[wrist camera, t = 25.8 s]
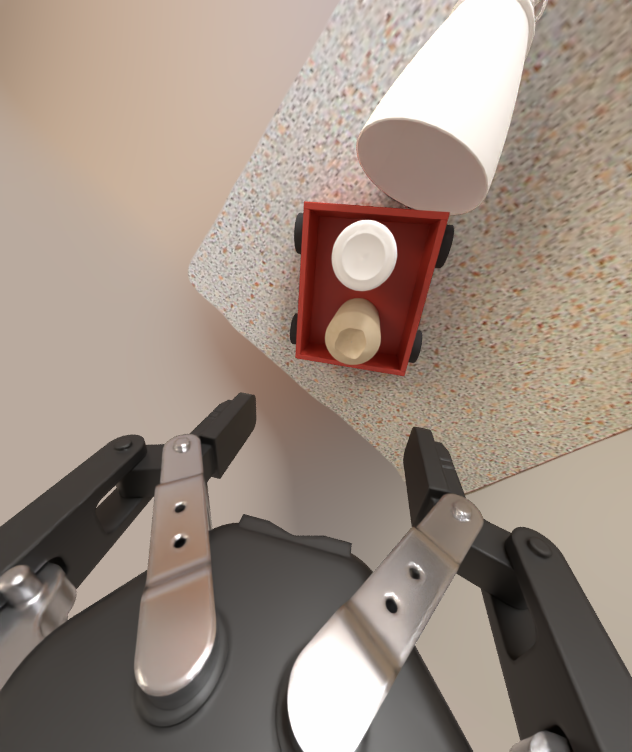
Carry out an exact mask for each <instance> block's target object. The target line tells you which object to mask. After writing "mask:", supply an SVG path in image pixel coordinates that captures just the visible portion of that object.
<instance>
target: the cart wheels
mask: <svg viewBox="0 0 632 752" xmlns="http://www.w3.org/2000/svg"><path fill="white" fill-rule="evenodd" d="M302 230H303V213H299V214H298V216H297V218H296V222H295V230H294V242H295V249H296V252H297V253H298V254H301V248H302ZM453 236H454V226H453V225H446V228H445V232H444V236H443V239H442V243H441V246H440V250H439V254H438V257H437V261H436V264H435V268H441V267H442V266H443V265H444V263H445V261H446V259H447V257H448V254H449V251H450V248H451V245H452V241H453ZM297 320H298V314H297V313H296V314H295V315H294V316H293V319H292V322H291V328H290V340H291V343H292V344H296V338H297ZM421 345H422V332H421V331H419V330H417V332H416V336H415V340H414V343H413V347H412V350H411V354H410V357H409V361H408V362H411V363H415V362H416V360H417V358H418V356H419V353H420V349H421Z"/></svg>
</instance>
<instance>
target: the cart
mask: <svg viewBox="0 0 632 752" xmlns="http://www.w3.org/2000/svg"><path fill="white" fill-rule="evenodd" d="M449 214H450V212H441V211H427V210H414V209H400V208H386V207H373V206H359V205H345V204H332V203H318V202H304V212H303V230H302V248H301V266H300V284H299V302H298V320H297V338H296V355H295V358H298V359H304V360H310V361H316V362H322V363H328V364H334V365H340V366H346V367H352V368H358V369H364V370H370V371H376V372H382V373H388V374H394V375H400V376H404V375H405V371H406V368H407V365H408V361H409V357H410V354H411V350H412V347H413V343H414V340H415V336H416V332H417V329H418V325H419V322H420V318H421V314H422V311H423V307H424V304H425V300H426V297H427V293H428V289H429V286H430V282H431V279H432V275H433V271H434V268H435V264H436V261H437V257H438V254H439V250H440V246H441V243H442V239H443V236H444V232H445V228H446V225H447V221H448V218H449ZM361 220H373V221H376V222H379V223H381V224H383V225H384V226H385V227H387V228H388V229H389V231H390V232H391V233H392V235H393V237H394V239H395V242H396V246H397V260H396V264H395V267H394V269H393V271H392V273H391V275H390V276H389V277H388V279H387V280H386V281H385V282H384V283H382V284H381V285H380V286H378V287H376V288H374V289H372V290H368V291H356V290H352V289H350V288H348V287H346V286H345V285H343V284H342V283H341V282H340V281H339V279H338V278H337V276H336V275H335V272H334V270H333V266H332V251H333V247H334V244H335V242H336V240H337V238H338V236H339V235H340V234H341V232H342V231H343V230H344V229H345V228H347V227H348V226H349V225H351V224H353V223H355V222H357V221H361ZM354 298H363V299H366V300H368V301H370V302H371V303H372V304H373V305H374V306H375V307H376V309H377V311H378V313H379V320H380V333H381V342H380V346H379V349H378V351H377V352H376V354H375V355H374V356H373V357H372V358H371V359H370V360H368V361H366V362H364V363H362V364H357V365H349V364H344V363H342V362H339V361H338V360H336V359H335V358H334V357H333V356H332V355H331V354H330V353H329V351H328V349H327V347H326V343H325V333H326V330H327V327H328V325H329V324H330V322H331V320H332V319H333V317H334V316H335V314H336V313H337V311H338V309H339V308H340V307H341V306H342V304H344V303H345V302H346V301H348V300H350V299H354Z"/></svg>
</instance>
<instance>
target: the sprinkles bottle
mask: <svg viewBox="0 0 632 752" xmlns="http://www.w3.org/2000/svg"><path fill="white" fill-rule="evenodd" d="M396 260H397V246H396V242H395V239H394V237H393V235H392V233H391V232H390V231H389V229H388V228H387V227H385V226H384V225H383V224H381V223H379V222H376V221H373V220H361V221H357V222H355V223H353V224H351V225H349V226H348V227H347V228H345V229H344V230H343V231H342V232H341V234H340V235H339V236H338V238H337V240H336V242H335V244H334V247H333V251H332V266H333V270H334V272H335V275H336V276H337V278H338V279H339V281H340V282H341V283H342V284H343V285H345V286H346V287H348V288H350V289H352V290H356V291H368V290H372V289H374V288H376V287H378V286H380V285H381V284H382V283H384V282H385V281H386V280H387V279H388V277H389V276H390V275H391V273H392V271H393V269H394V267H395V264H396Z"/></svg>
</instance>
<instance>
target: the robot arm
mask: <svg viewBox="0 0 632 752" xmlns="http://www.w3.org/2000/svg"><path fill="white" fill-rule="evenodd" d="M255 424H256V398H255V395H251V394H246V393H239V394H238V395H237V396H236V397H235V398H234V399H233V400H227V401H225V402H223V403H221V404H219V405H218V406H217V407H216V408H215V409H214V410H213V412H211V413H210V414H209V416H208V417H206V418H205V419H204V420H203V421H202V422H201V423H200V424H199V425H198V426H197V427H196V428H195V429H194V430H193V431H192V432H191V433H190V434H183V435H178V436H176V437H173V438H172V439H170V440H169V441H167V442H166V443H165V444H162V445H161V444H160V445H146V444H145V441H144V438H143V437H141V436H139V435H126V436H122V437H119V438H117V439H114V440H113V441H111V442H109V443H108V444H107V445H106V446H104V447H103V448H101V449H100V450H99V451H98V452H96V453H95V454H94V455H92V456H91V457H90V458H88V459H87V460H86V461H85V462H83V463H82V464H81V465H79V466H78V467H77V468H76V469H74V470H73V471H72V472H70V473H69V474H68V475H67V476H65V477H64V478H63V479H61V480H60V481H59V482H58V483H56V484H55V485H54V486H53V487H51V488H50V489H49V490H47V491H46V492H45V493H43V494H42V495H41V496H40V497H38V498H37V499H36V500H34V501H33V502H32V503H30V504H29V505H28V506H27V507H25V508H24V509H23V510H22V511H20V512H19V513H18V514H16V515H15V516H14V517H12V518H11V519H10V520H9V521H7V522H6V523H5V524H3V525H2V526H1V527H0V752H473V750H472V748H471V747H470V745H469V743H468V741H467V739H466V737H465V735H464V734H463V732H462V730H461V728H460V726H459V725H458V723H457V721H456V719H455V717H454V716H453V714H452V712H451V710H450V708H449V706H448V705H447V703H446V701H445V699H444V697H443V696H442V694H441V692H440V690H439V688H438V687H437V685H436V683H435V681H434V679H433V677H432V676H431V674H430V672H429V670H428V668H427V666H426V665H425V663H424V661H423V659H422V657H421V655H420V654H419V652H418V650H417V648H416V646H415V644H416V642H417V640H418V639H419V637H420V635H421V633H422V631H423V630H424V628H425V626H426V625H427V623H428V621H429V619H430V618H431V616H432V614H433V612H434V611H435V609H436V607H437V606H438V604H439V602H440V600H441V598H442V597H443V595H444V593H445V591H446V590H447V588H448V586H449V585H450V583H451V581H452V579H453V578H454V576H455V574H458V575H460V576H461V577H463V578H465V579H467V580H468V581H470V582H471V583H473V584H475V585H476V586H478V587H480V588H481V591H482V595H483V599H484V603H485V606H486V610H487V614H488V618H489V622H490V626H491V630H492V633H493V637H494V641H495V645H496V649H497V653H498V656H499V660H500V664H501V668H502V672H503V676H504V679H505V683H506V687H507V691H508V695H509V698H510V702H511V706H512V710H513V714H514V717H515V721H516V725H517V729H518V733H519V737H520V742H518V743H516V744H514V745H513V746H512V748H511V749H510V752H632V677H631V676H630V673H629V672H628V670H627V668H626V666H625V665H624V663H623V661H622V659H621V657H620V656H619V654H618V652H617V650H616V649H615V647H614V645H613V643H612V641H611V640H610V638H609V636H608V634H607V633H606V631H605V629H604V627H603V625H602V624H601V622H600V620H599V618H598V617H597V615H596V613H595V611H594V609H593V608H592V606H591V604H590V602H589V600H588V599H587V597H586V595H585V593H584V592H583V590H582V588H581V586H580V584H579V583H578V581H577V579H576V577H575V576H574V574H573V572H572V570H571V568H570V567H569V565H568V563H567V561H566V560H565V558H564V556H563V555H562V553H561V552H560V550H559V549H558V548H557V547H556V546H555V545H554V544H553V543H552V542H551V541H550V540H549V539H547V538H546V537H545V536H543V535H541V534H540V533H538V532H537V531H534V530H532V529H529V528H526V527H518V528H515V529H514V530H513V531H512V533H510V532H508V531H506V530H504V529H502V528H499V527H498V526H496V525H494V524H491V523H490V522H488V521H486V520H485V519H483V516H482V514H481V512H480V511H479V510H478V508H477V507H476V506H475V505H474V504H473V503H472V502H471V501H469V500H468V499H466V497H465V495H464V492H463V489H462V486H461V484H460V481H459V478H458V475H457V473H456V470H455V467H454V465H453V463H452V459H451V456H450V454H449V451H448V450H447V449H446V448H445V447H444V446H443V444H442V443H440V442H435V441H434V438H433V435H432V432H431V430H429V429H424V428H419V427H413V428H412V431H411V434H410V437H409V440H408V443H407V446H406V449H405V452H404V459H403V463H404V471H405V479H406V486H407V493H408V501H409V509H410V516H411V524H412V528H411V529H410V530H409V531H408V532H407V533H406V535H405V536H404V537H403V538H402V539H401V541H400V542H399V543H398V544H397V545H396V546H395V547H394V549H393V550H392V551H391V552H390V553H389V555H388V556H387V557H386V558H385V559H384V560H383V562H382V563H381V564H380V565H379V566H378V567H377V569H376V570H375V571H374V572H373V571H372V570H370V568H369V567H368V566H367V565H366V564H365V563H364V562H363V561H362V560H360V559H359V558H358V557H356V556H355V555H353V554H351V545H352V544H351V543H349V542H345V541H342V540H338V539H334V538H330V537H327V536H294V535H292V534H290V533H288V532H286V531H285V530H283V529H282V528H280V527H278V526H276V525H275V524H273V523H271V522H270V521H267V520H264V519H260V518H256V517H252V516H249V515H245V514H243V516H242V518H241V520H240V522H239V523H231V524H226V525H222V526H219V527H217V528H214V529H212V522H211V513H210V505H209V496H208V486H207V482H208V480H209V479H210V478H211V477H214V478H219V479H220V478H221V477H222V475H223V474H224V472H225V471H226V469H227V468H228V466H229V465H230V463H231V462H232V461H233V459H234V458H235V456H236V455H237V453H238V452H239V450H240V449H241V447H242V446H243V445H244V443H245V442H246V440H247V438H248V437H249V436H250V434H251V432H252V431H253V430H254V427H255ZM115 485H116V487H117V488H116V489H115V490H114V491H113V492H112V493H111V494H110V495H109V496H108V497H107V498H106V499H105V500H104V501H103V502H102V503H101V504H100V505H99V506H98V507H97V505H98V503H99V501H100V500H101V499H102V498H103V497H104V496H105V495H106V494H107V493H108V492H109V491H110V490H111V489H112V488H113V487H114V486H115ZM152 497H154V506H153V517H152V528H151V538H150V549H149V559H148V569H147V570H146V571H145V572H143V573H141V574H140V575H138V576H137V577H135V578H133V579H132V580H130V581H129V582H127V583H126V584H124V585H123V586H121V587H119V588H118V589H116V590H114V591H113V592H111V593H110V594H108V595H107V596H105V597H103V598H102V599H100V600H99V601H97V602H96V603H94V604H93V605H91V606H89V607H88V608H86V609H85V610H83V611H81V612H80V613H78V614H77V615H75V616H73V617H72V618H70V619H69V620H67V619H68V613H69V611H70V610H71V609H72V607H73V605H74V602H75V599H76V589H77V588H78V587H79V586H80V584H81V583H82V582H83V581H84V579H85V578H86V577H87V576H88V575H89V574H90V572H91V571H92V570H93V569H94V568H95V566H96V565H97V564H98V563H99V562H100V560H101V559H102V558H103V557H104V555H105V554H106V553H107V552H108V551H109V549H110V548H111V547H112V546H113V545H114V543H115V542H116V541H117V540H118V538H119V537H120V536H121V535H122V534H123V533H124V531H125V530H126V529H127V528H128V526H129V525H130V524H131V523H132V522H133V520H134V519H135V518H136V517H137V516H138V514H139V513H140V512H141V511H142V509H143V508H144V507H145V506H146V505H147V504H148V502H149V501H150V500H151V499H152ZM96 507H97V508H96Z"/></svg>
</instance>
